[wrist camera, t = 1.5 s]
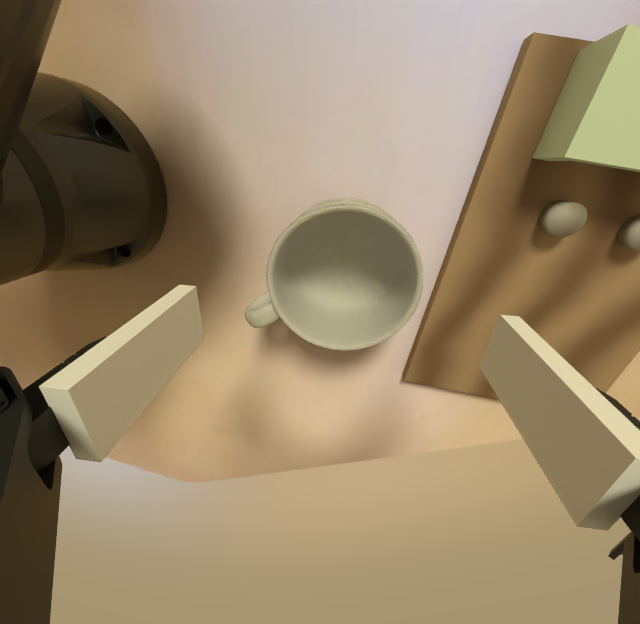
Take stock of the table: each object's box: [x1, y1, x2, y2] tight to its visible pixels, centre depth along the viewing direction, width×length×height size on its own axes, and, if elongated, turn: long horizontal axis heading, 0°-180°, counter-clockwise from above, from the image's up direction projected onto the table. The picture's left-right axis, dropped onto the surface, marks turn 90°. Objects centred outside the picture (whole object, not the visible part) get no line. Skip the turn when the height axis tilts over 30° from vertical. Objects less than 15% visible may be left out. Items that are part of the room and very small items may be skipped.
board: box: [403, 32, 640, 399], centre depth 24 cm, size 19×28×3 cm
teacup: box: [245, 198, 423, 350], centre depth 24 cm, size 14×11×8 cm
